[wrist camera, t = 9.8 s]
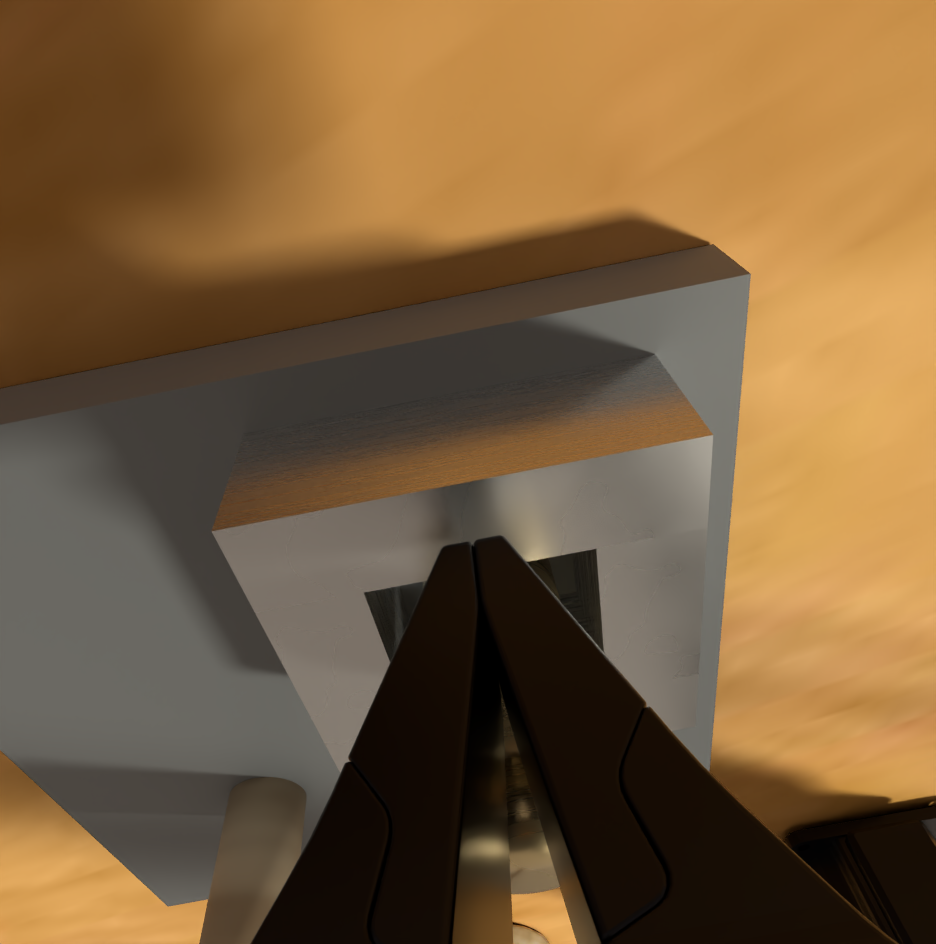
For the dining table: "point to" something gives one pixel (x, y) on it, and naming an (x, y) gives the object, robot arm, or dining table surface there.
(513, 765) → the brass knobbed cylinder
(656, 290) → the board
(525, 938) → the hand bell
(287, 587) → the square hole block
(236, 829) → the stand rod
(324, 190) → the dining table surface
